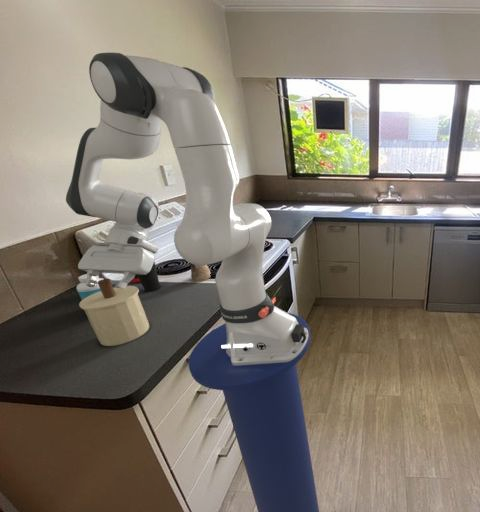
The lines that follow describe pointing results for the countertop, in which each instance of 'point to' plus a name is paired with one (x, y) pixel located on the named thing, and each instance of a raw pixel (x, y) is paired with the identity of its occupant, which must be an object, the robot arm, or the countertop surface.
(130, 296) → the lid
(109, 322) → the beige canister
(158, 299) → the countertop surface
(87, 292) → the pill bottle
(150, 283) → the drinking cup
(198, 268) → the figurine
